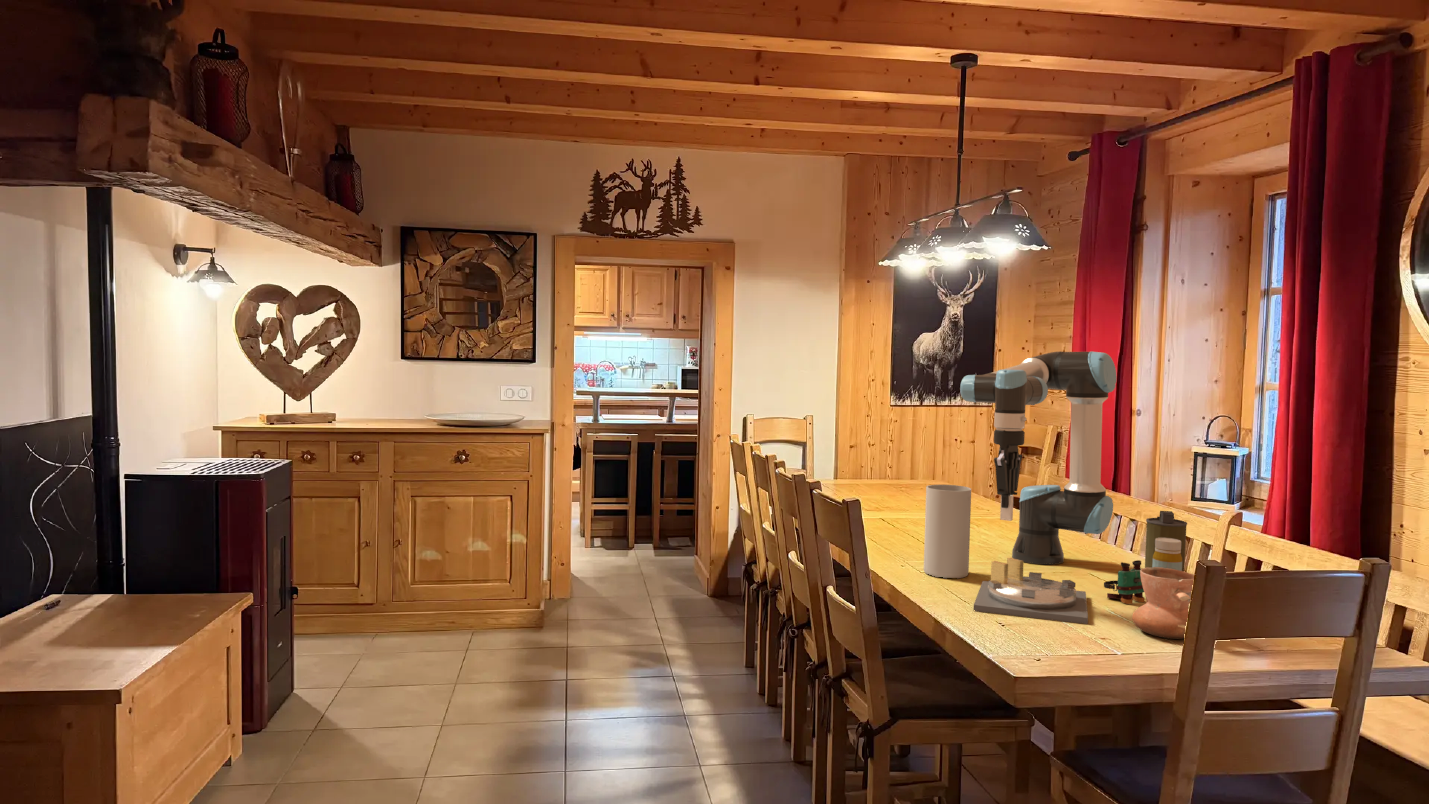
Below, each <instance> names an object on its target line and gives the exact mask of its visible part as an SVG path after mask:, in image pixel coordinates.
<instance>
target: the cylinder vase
mask: <svg viewBox="0 0 1429 804" xmlns="http://www.w3.org/2000/svg"><path fill="white" fill-rule="evenodd" d="M971 509H972V488H970V487H968V486H963V485H956V484H930V485H926V487H925V518H924V519H925V520H924V526H925V527H924V550H923V551H924V552H923V553H924V554H923V571H924V573H925V574H926V575H928V574H929V575H928V576H930V575H932V577H934V576H935V577H934V578H938V577H943V578H942V579H947V578H957V579H963V578H966V577H967V576H968V575H969V568H970V567H969V566H970V540H971V539H970V536H971V516H972V515H971Z"/></svg>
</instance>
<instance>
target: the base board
mask: <svg viewBox="0 0 1429 804" xmlns="http://www.w3.org/2000/svg"><path fill="white" fill-rule="evenodd" d="M989 581H990V580H988V581H987V580H982V582H981V585H980V587H979V589H978V592H977V596H976V598H975V600H974V603H973V611H974V610H975V611H974V612H978V611H979V612H981V613H987V612H990V613H989V614H995V613H996V614H998V615H1006V616H1013V615H1014V616H1013V617H1022V618H1031V619H1040V620H1048V621H1049V620H1050V621H1055V620H1057V621H1058V622H1066V623H1073V624H1081V623H1083V624H1082V625H1088V622H1089V618H1088V617H1089V614H1088V604H1087V603H1088V602H1087V592H1086V591H1083V590H1076V604H1075V605H1074V606H1073V607H1070V608H1066V609H1058V610H1040V609H1029V608H1021V607H1016V606H1011V605H1007V604H1004V603H1001V602H998V601H996V600H994V599H992V598H991V597H990V596H989V595H988V591H989Z"/></svg>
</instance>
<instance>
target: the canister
mask: <svg viewBox="0 0 1429 804" xmlns="http://www.w3.org/2000/svg"><path fill="white" fill-rule="evenodd" d="M1145 521H1146V530H1145V532H1146V533H1145V535H1146V536H1145V554H1144V555H1145V556H1144V557H1145V559H1144V568H1146V567H1148V568H1152V563H1153V554H1154V552H1155V539H1156V538H1172V539H1177V540H1180V541H1181V556H1182V571H1184V572H1185V562H1186V561H1185V560H1186V540H1187V525H1188V522H1187V521H1184V520H1180V519H1176V518H1175V513H1174V512H1173V511H1170V510H1168V511H1167V510H1159V516H1157V517H1149V518H1148V517H1147V518H1146V520H1145Z"/></svg>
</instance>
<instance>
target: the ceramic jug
mask: <svg viewBox="0 0 1429 804" xmlns="http://www.w3.org/2000/svg"><path fill="white" fill-rule="evenodd" d="M1194 575H1195V574H1194V573H1190V572H1188V571H1185V570H1184V571H1180V570H1175V569H1169V568H1162V567H1152V568H1148V567H1146V568H1145V567H1143V568H1141V570H1140V576H1141V582H1142V586H1143V589H1144V592H1143V593H1144V595H1145V596H1144V597H1145V601H1146V603H1144V604H1142V605H1141V606H1138V607H1137V608H1136V609H1135V610H1133V613H1132V615H1131V618H1132V622H1133V624H1134V625H1135V626H1136V627H1137V628H1138V629H1139V630H1140V631H1143V632H1145V633H1146V634H1149V635H1152V636H1154V637H1158V638H1163V639H1164V638H1165V639H1169V638H1170V639H1171V640H1173V639H1174V640H1182V639H1183V638H1184V634H1185V626H1186V622H1187V618H1188V609H1190V608H1189V606H1190V604H1191V602H1190V600H1191V591H1192V585H1193V580H1194ZM1191 601H1192V600H1191ZM1184 639H1185V638H1184Z"/></svg>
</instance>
